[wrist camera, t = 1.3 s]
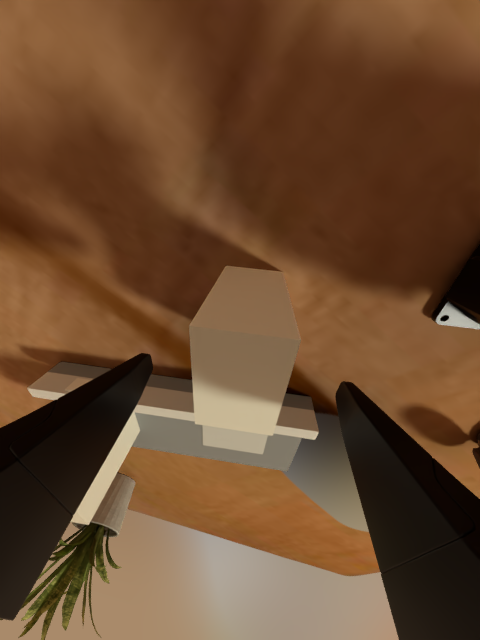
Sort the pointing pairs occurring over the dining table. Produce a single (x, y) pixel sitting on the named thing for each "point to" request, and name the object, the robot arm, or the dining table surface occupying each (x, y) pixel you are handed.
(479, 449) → the compass
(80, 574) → the house plant
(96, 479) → the faced carton
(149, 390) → the shelf board
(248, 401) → the carton
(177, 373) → the dining table surface
